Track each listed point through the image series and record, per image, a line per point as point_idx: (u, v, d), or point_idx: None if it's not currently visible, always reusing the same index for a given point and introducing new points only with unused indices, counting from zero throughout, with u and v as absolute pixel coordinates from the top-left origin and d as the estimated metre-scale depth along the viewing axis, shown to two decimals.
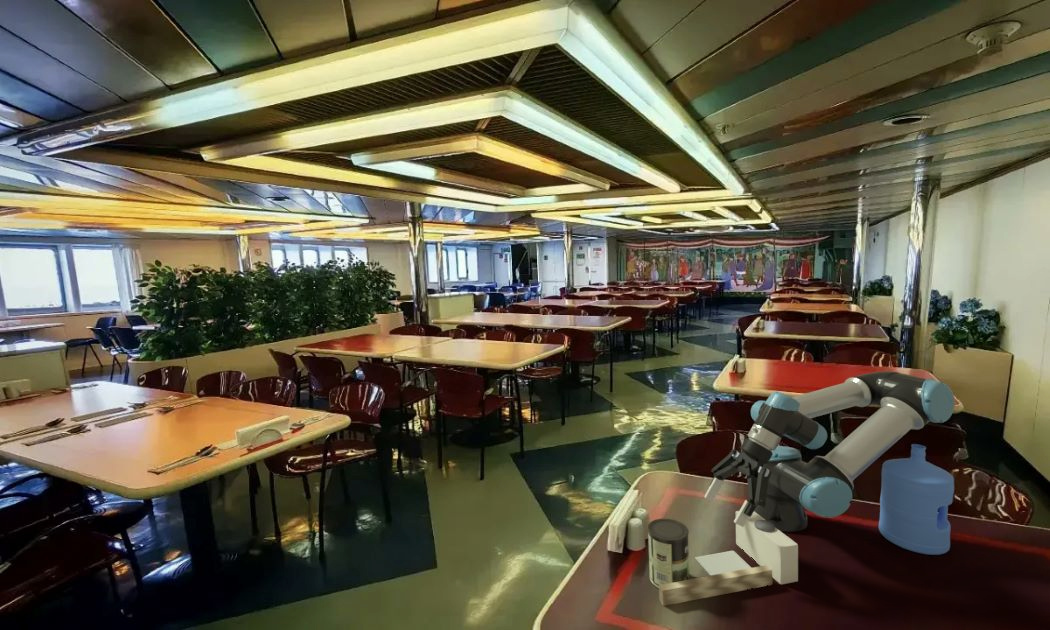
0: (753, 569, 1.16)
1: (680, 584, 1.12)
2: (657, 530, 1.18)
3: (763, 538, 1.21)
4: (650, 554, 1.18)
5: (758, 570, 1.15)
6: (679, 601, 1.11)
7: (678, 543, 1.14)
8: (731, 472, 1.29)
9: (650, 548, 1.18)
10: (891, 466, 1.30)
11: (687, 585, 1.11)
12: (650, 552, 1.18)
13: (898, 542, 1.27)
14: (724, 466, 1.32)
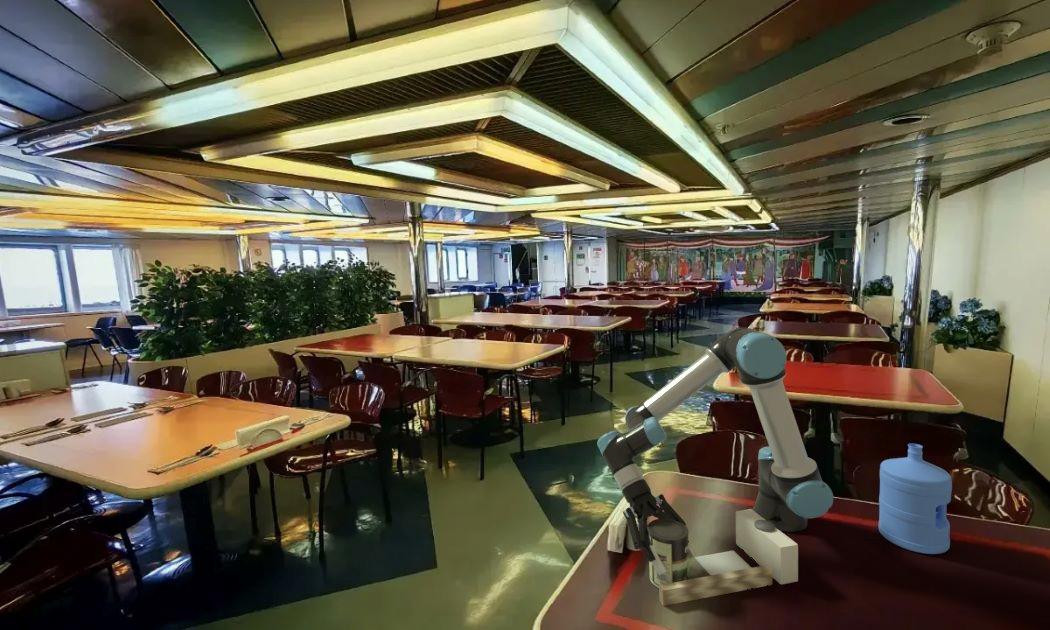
0: (753, 569, 1.16)
1: (680, 584, 1.12)
2: (657, 529, 1.18)
3: (763, 538, 1.21)
4: None
5: (758, 570, 1.15)
6: (679, 601, 1.11)
7: (678, 543, 1.14)
8: None
9: None
10: (889, 466, 1.30)
11: (687, 585, 1.11)
12: None
13: (898, 542, 1.27)
14: (671, 516, 1.26)
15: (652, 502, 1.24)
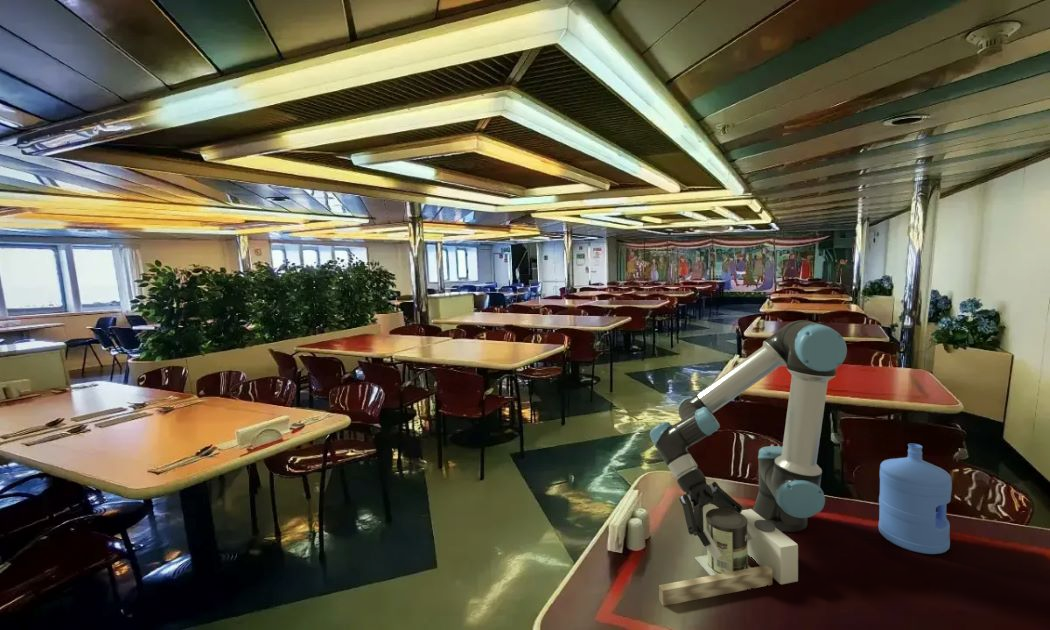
0: (753, 569, 1.16)
1: (680, 584, 1.12)
2: (716, 518, 1.21)
3: (763, 538, 1.21)
4: None
5: (758, 570, 1.15)
6: (679, 601, 1.11)
7: (739, 531, 1.17)
8: (721, 505, 1.27)
9: None
10: (889, 466, 1.30)
11: (687, 585, 1.11)
12: None
13: (898, 542, 1.27)
14: (726, 501, 1.29)
15: (708, 491, 1.27)
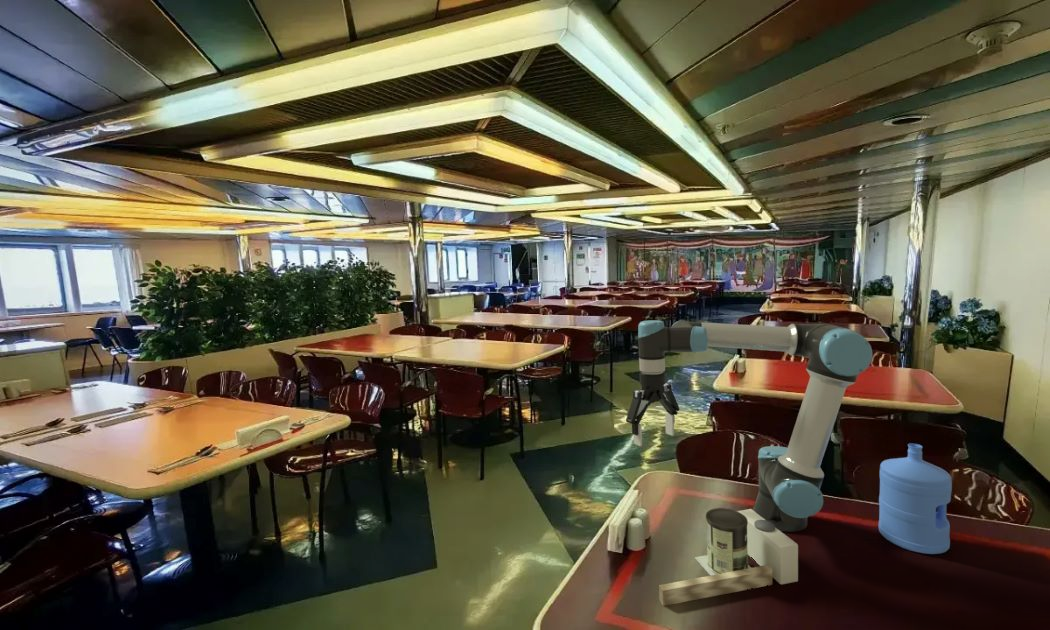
0: (753, 569, 1.16)
1: (680, 584, 1.12)
2: (716, 518, 1.21)
3: (763, 538, 1.21)
4: (709, 542, 1.21)
5: (758, 570, 1.15)
6: (679, 601, 1.11)
7: (739, 531, 1.17)
8: (664, 404, 1.40)
9: (709, 536, 1.21)
10: (889, 466, 1.30)
11: (687, 585, 1.11)
12: (709, 540, 1.21)
13: (898, 542, 1.27)
14: (670, 400, 1.41)
15: (661, 393, 1.36)
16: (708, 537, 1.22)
